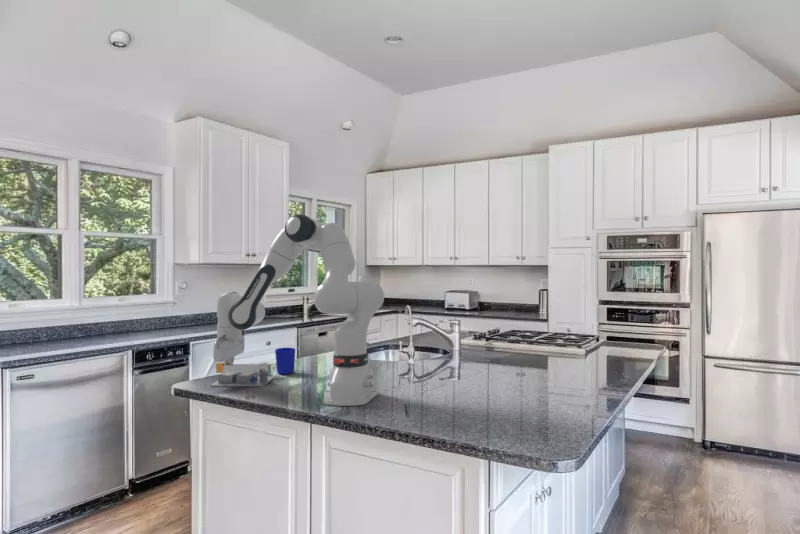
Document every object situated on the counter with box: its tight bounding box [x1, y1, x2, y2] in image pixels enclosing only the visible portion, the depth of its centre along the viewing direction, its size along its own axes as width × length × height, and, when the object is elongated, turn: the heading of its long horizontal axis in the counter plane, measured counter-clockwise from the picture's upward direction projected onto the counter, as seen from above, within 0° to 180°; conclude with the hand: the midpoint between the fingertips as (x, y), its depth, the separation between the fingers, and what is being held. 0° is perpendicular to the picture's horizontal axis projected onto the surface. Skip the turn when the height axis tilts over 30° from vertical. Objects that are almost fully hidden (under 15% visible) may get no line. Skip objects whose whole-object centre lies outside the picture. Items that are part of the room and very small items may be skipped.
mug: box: [274, 347, 296, 375], centre depth 216 cm, size 8×12×10 cm
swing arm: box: [215, 361, 269, 374], centre depth 198 cm, size 3×19×4 cm, turn 91°
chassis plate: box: [210, 371, 275, 387], centre depth 199 cm, size 14×20×4 cm
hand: (229, 368), depth 201 cm, fingers closed
